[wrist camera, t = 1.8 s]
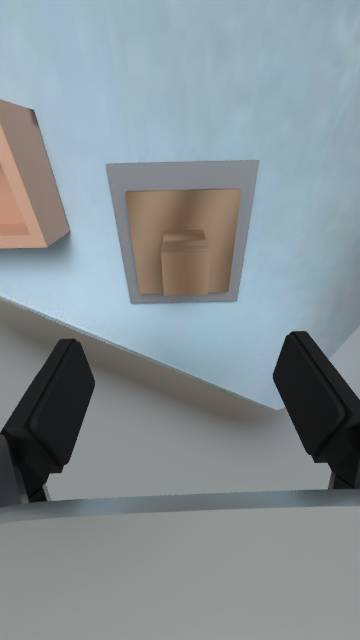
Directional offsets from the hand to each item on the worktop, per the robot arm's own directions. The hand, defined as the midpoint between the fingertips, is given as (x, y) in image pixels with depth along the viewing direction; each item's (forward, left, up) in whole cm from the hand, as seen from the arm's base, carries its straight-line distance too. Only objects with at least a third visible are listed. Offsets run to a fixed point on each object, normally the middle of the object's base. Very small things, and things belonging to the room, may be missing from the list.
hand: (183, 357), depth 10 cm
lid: (0, 0, -16) cm, 16 cm away
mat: (0, 0, -16) cm, 16 cm away
